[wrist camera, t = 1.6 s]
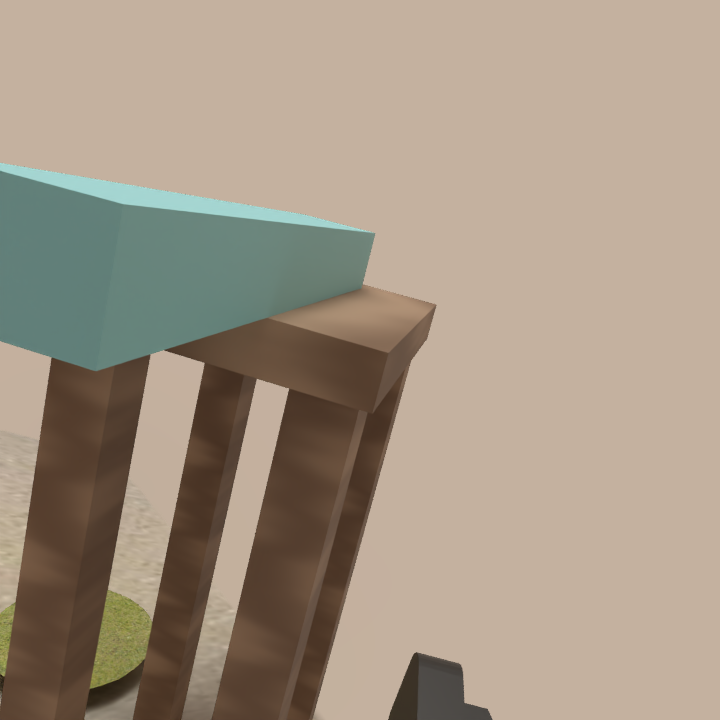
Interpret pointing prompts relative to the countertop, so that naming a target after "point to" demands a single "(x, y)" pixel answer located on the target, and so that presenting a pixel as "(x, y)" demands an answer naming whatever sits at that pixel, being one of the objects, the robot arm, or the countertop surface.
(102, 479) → the walnut stand
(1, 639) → the green flat disc
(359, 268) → the teal block
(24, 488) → the countertop surface
